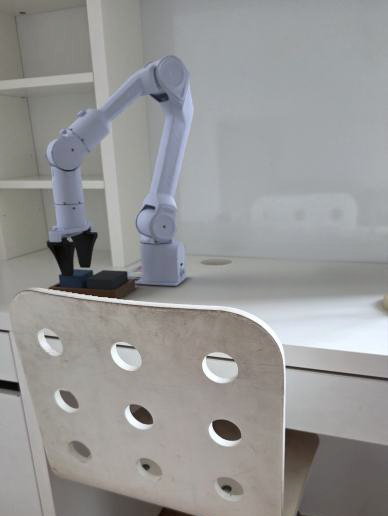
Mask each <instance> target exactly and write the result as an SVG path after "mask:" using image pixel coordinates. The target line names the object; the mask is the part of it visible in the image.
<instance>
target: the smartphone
mask: <svg viewBox="0 0 388 516" xmlns="http://www.w3.org/2000/svg"><path fill="white" fill-rule="evenodd" d="M127 274H128V279H135V280H139V279H141V278H142V269H141V265H139V266H137V267H136V268H134V269H133V270H130V271H129V272H127Z"/></svg>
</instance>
